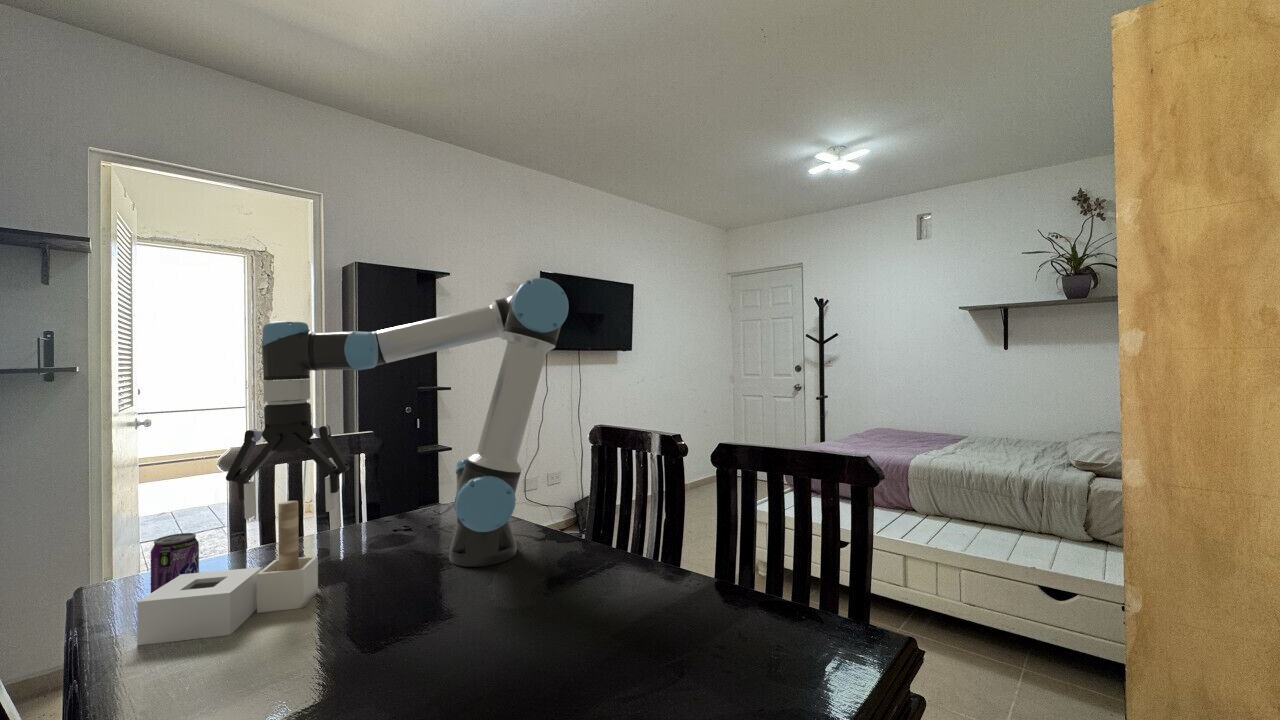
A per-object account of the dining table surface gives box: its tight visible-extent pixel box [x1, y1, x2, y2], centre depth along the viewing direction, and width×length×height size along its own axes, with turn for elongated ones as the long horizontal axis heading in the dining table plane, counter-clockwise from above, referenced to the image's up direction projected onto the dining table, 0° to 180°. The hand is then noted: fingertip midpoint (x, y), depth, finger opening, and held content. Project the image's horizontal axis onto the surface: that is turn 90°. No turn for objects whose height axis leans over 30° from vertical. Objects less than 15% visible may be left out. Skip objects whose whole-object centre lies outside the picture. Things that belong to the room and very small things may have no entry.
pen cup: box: [256, 555, 319, 614], centre depth 103 cm, size 8×8×7 cm
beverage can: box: [150, 532, 200, 594], centre depth 104 cm, size 7×7×12 cm
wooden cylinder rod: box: [277, 500, 300, 571], centre depth 103 cm, size 3×3×18 cm
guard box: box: [136, 566, 263, 646], centre depth 94 cm, size 13×12×7 cm
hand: (291, 513), depth 103 cm, fingers open, 13 cm apart
